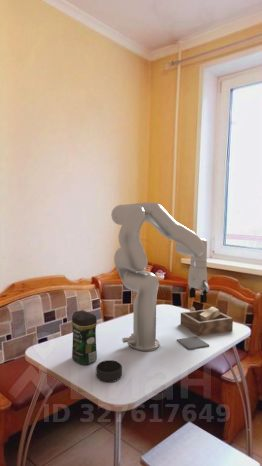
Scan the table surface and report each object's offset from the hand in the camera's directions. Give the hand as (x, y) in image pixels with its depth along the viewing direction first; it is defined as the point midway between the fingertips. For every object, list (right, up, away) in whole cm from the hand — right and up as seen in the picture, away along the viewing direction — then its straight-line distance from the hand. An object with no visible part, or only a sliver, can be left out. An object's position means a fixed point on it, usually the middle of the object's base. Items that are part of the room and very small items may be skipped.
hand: (197, 300), depth 157 cm
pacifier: (0, -13, +16) cm, 21 cm away
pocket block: (+5, -14, +3) cm, 15 cm away
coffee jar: (-50, -17, -32) cm, 61 cm away
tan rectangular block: (+7, -9, +4) cm, 12 cm away
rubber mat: (-5, -15, -16) cm, 23 cm away
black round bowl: (-40, -18, -44) cm, 62 cm away
